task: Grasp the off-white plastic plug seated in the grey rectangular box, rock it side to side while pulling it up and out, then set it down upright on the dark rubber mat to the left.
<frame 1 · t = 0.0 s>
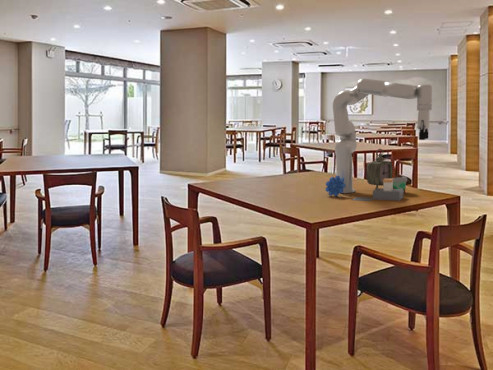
hand: (423, 139, 269), 31 cm above the table, tool pointing down, fingers open, 9 cm apart
tabletop clock: (379, 190, 296), on the table
grey rectangular box: (388, 199, 265), on the table
food container: (400, 194, 279), on the table
blue gear: (335, 196, 281), on the table
plug: (388, 198, 265), resting on grey rectangular box
mat: (363, 199, 266), on the table
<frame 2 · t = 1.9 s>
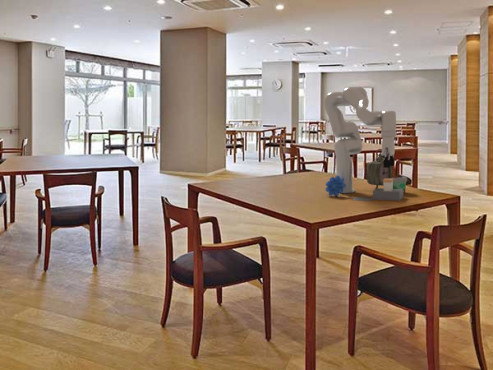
hand: (389, 166, 262), 18 cm above the table, tool pointing down, fingers open, 9 cm apart
nothing on the table moved.
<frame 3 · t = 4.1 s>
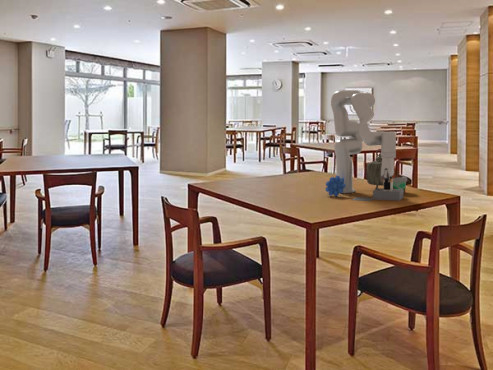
hand: (388, 188, 264), 6 cm above the table, tool pointing down, fingers closed on plug, 4 cm apart
plug: (388, 198, 265), point 1 cm above the table, touching gripper, grey rectangular box
everything else where it was.
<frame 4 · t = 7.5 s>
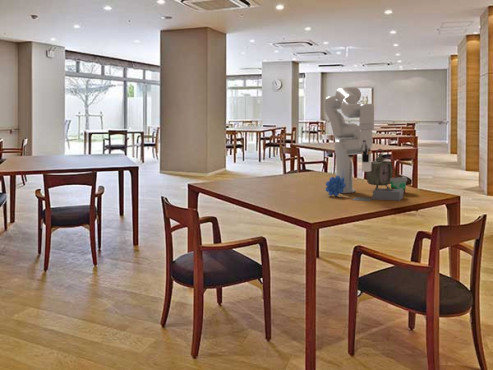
hand: (366, 161, 263), 21 cm above the table, tool pointing down, fingers closed on plug, 4 cm apart
plug: (366, 171, 264), point 16 cm above the table, touching gripper
everything else where it was.
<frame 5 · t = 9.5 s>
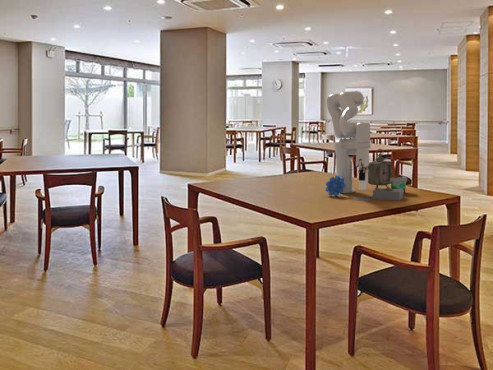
hand: (363, 179, 264), 11 cm above the table, tool pointing down, fingers closed on plug, 4 cm apart
plug: (363, 189, 264), point 6 cm above the table, touching gripper
everything else where it was.
when the fingers open (7 cm above the table, at t = 11.1 s): plug drops 1 cm, resting on mat.
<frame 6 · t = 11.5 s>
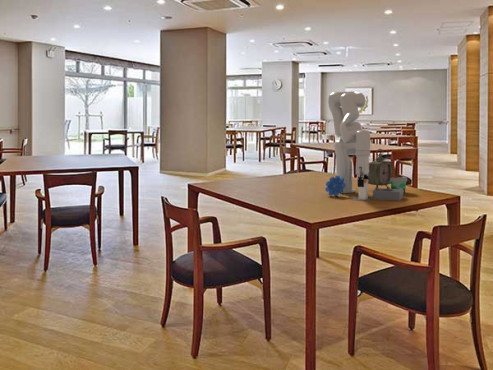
hand: (363, 185, 265), 8 cm above the table, tool pointing down, fingers open, 8 cm apart
plug: (363, 198, 266), point 1 cm above the table, touching mat
everything else where it was.
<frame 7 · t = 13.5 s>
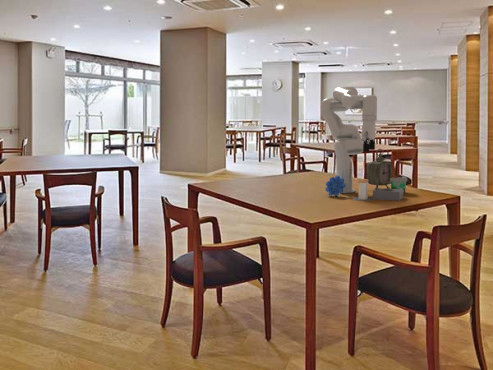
hand: (369, 150, 265), 26 cm above the table, tool pointing down, fingers open, 9 cm apart
nothing on the table moved.
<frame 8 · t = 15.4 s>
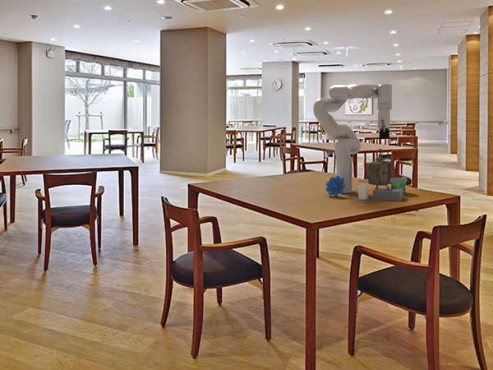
hand: (384, 138, 269), 32 cm above the table, tool pointing down, fingers open, 9 cm apart
nothing on the table moved.
at the end: plug inside the target area on the mat (0.1 cm from its centre), point 0.6 cm above the mat's base; plug tilted 0°; the gripper is holding nothing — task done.
